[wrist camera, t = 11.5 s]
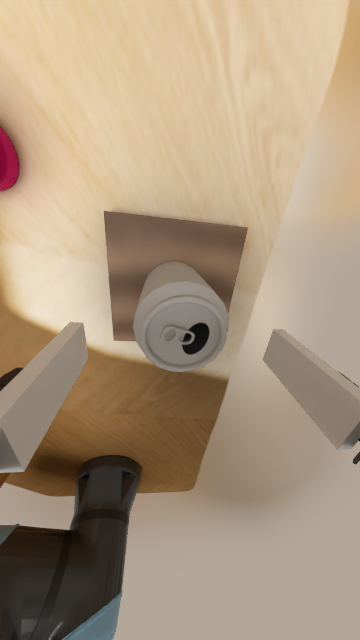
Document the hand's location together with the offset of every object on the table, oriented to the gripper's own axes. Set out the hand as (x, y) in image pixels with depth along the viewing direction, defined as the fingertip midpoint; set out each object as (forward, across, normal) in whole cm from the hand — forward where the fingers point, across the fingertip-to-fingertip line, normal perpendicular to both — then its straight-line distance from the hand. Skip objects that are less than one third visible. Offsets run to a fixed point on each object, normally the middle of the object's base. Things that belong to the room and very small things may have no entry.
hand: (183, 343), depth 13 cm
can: (+12, 0, 0) cm, 12 cm away
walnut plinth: (+15, 0, 0) cm, 15 cm away
